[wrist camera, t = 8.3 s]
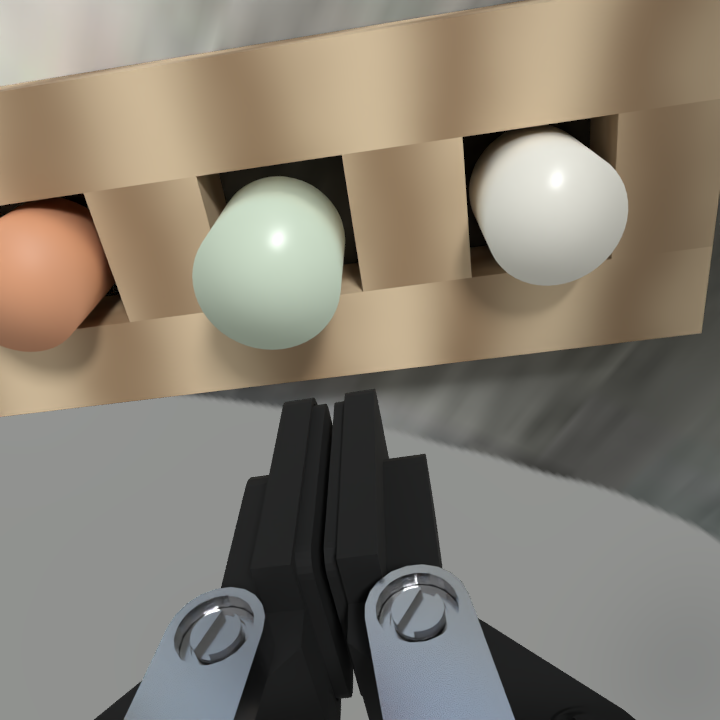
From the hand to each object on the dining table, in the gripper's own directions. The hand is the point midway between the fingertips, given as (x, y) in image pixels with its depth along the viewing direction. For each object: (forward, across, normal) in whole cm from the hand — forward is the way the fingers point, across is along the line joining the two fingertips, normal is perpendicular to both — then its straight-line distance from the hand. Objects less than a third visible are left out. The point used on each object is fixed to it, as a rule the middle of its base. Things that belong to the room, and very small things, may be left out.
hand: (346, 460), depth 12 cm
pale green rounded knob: (+12, +3, 0) cm, 13 cm away
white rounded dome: (+14, -6, 0) cm, 16 cm away
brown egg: (+15, +12, -1) cm, 19 cm away
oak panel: (+16, +2, 0) cm, 16 cm away
